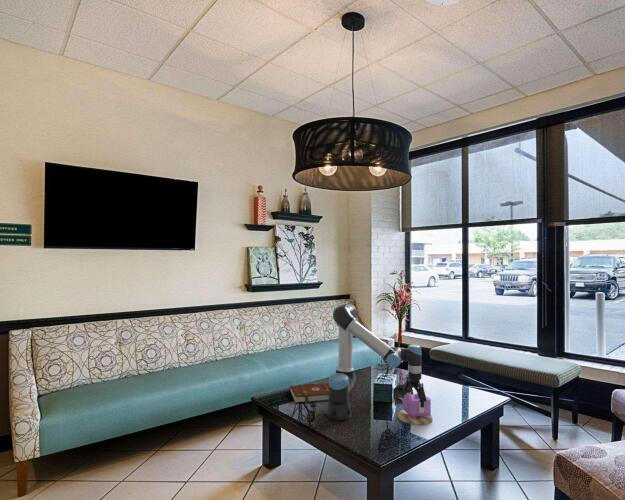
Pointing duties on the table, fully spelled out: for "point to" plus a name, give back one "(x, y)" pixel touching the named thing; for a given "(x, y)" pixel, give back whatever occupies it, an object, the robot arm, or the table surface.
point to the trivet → (409, 420)
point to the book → (310, 392)
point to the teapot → (416, 406)
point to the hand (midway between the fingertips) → (414, 408)
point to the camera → (400, 391)
